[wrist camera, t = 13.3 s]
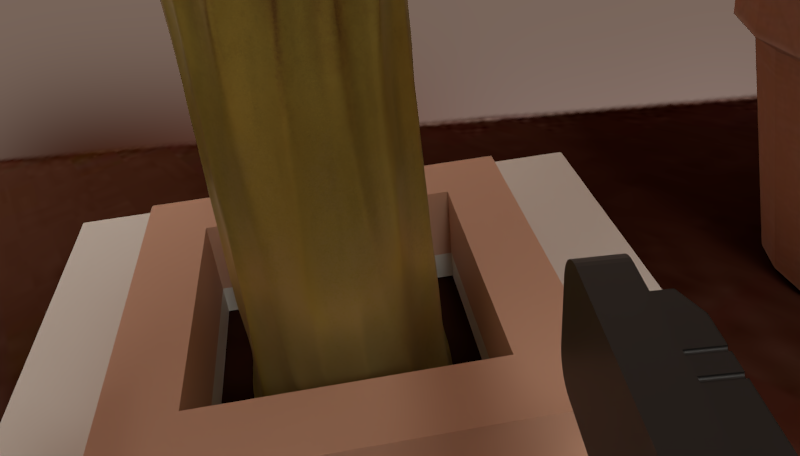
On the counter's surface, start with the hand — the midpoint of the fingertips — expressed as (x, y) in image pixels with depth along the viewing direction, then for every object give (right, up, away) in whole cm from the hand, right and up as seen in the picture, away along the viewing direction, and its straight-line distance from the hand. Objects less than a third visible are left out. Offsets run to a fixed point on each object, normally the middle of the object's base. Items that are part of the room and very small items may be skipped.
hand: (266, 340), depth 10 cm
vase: (0, -3, +13) cm, 13 cm away
